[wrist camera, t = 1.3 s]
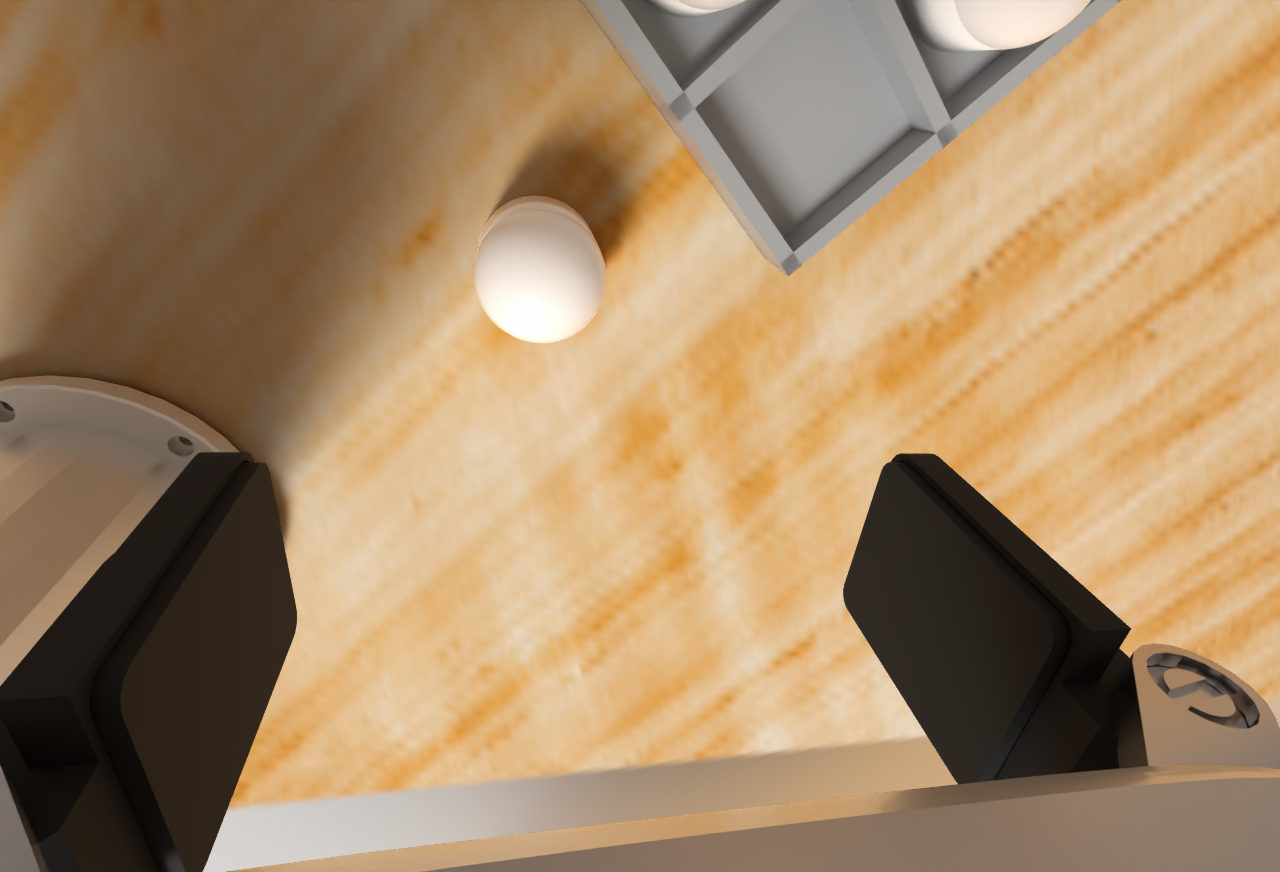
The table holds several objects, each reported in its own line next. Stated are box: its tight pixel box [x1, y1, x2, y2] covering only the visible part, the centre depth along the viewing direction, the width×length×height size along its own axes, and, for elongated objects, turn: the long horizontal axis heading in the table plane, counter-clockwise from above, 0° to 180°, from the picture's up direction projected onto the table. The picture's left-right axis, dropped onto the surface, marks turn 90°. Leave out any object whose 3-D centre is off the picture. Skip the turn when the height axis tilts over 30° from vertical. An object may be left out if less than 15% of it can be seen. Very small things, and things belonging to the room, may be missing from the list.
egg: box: [474, 195, 606, 343], centre depth 22 cm, size 4×4×5 cm
